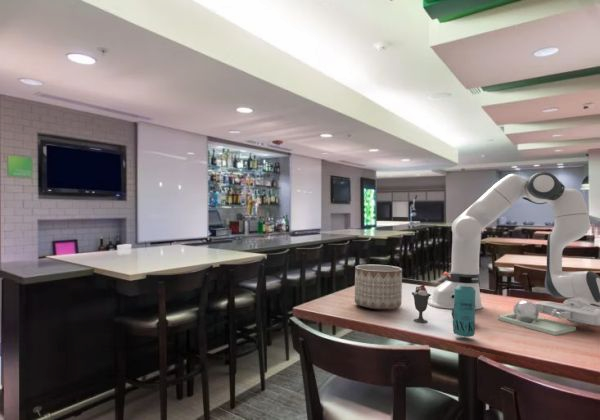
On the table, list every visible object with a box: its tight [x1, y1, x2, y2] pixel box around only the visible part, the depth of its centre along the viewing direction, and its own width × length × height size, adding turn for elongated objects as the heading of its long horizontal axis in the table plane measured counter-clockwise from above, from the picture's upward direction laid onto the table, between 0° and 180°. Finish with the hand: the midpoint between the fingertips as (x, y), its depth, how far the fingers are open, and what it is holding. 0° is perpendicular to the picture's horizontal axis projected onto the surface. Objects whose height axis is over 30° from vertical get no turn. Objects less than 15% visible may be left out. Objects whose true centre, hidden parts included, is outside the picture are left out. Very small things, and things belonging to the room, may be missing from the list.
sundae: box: [411, 280, 432, 324], centre depth 136 cm, size 7×7×15 cm
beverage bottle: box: [452, 275, 476, 338], centre depth 118 cm, size 6×7×20 cm
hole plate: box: [497, 312, 577, 336], centre depth 134 cm, size 20×13×1 cm, turn 28°
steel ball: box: [512, 300, 540, 323], centre depth 137 cm, size 8×8×8 cm
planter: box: [354, 264, 403, 311], centre depth 156 cm, size 19×19×16 cm
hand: (555, 314), depth 128 cm, fingers closed
